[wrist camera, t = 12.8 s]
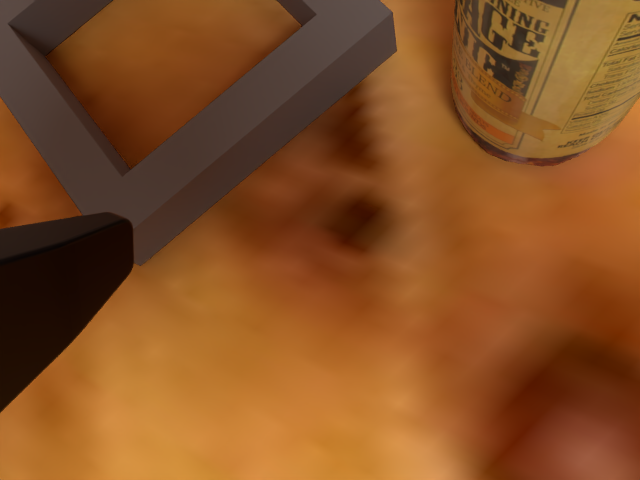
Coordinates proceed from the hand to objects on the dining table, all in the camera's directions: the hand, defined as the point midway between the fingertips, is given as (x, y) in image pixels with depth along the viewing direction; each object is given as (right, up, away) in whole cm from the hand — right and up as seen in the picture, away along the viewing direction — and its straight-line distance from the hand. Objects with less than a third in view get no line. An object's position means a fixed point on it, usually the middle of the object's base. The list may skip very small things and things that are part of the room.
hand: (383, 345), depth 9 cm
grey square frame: (-7, +10, +17) cm, 21 cm away
